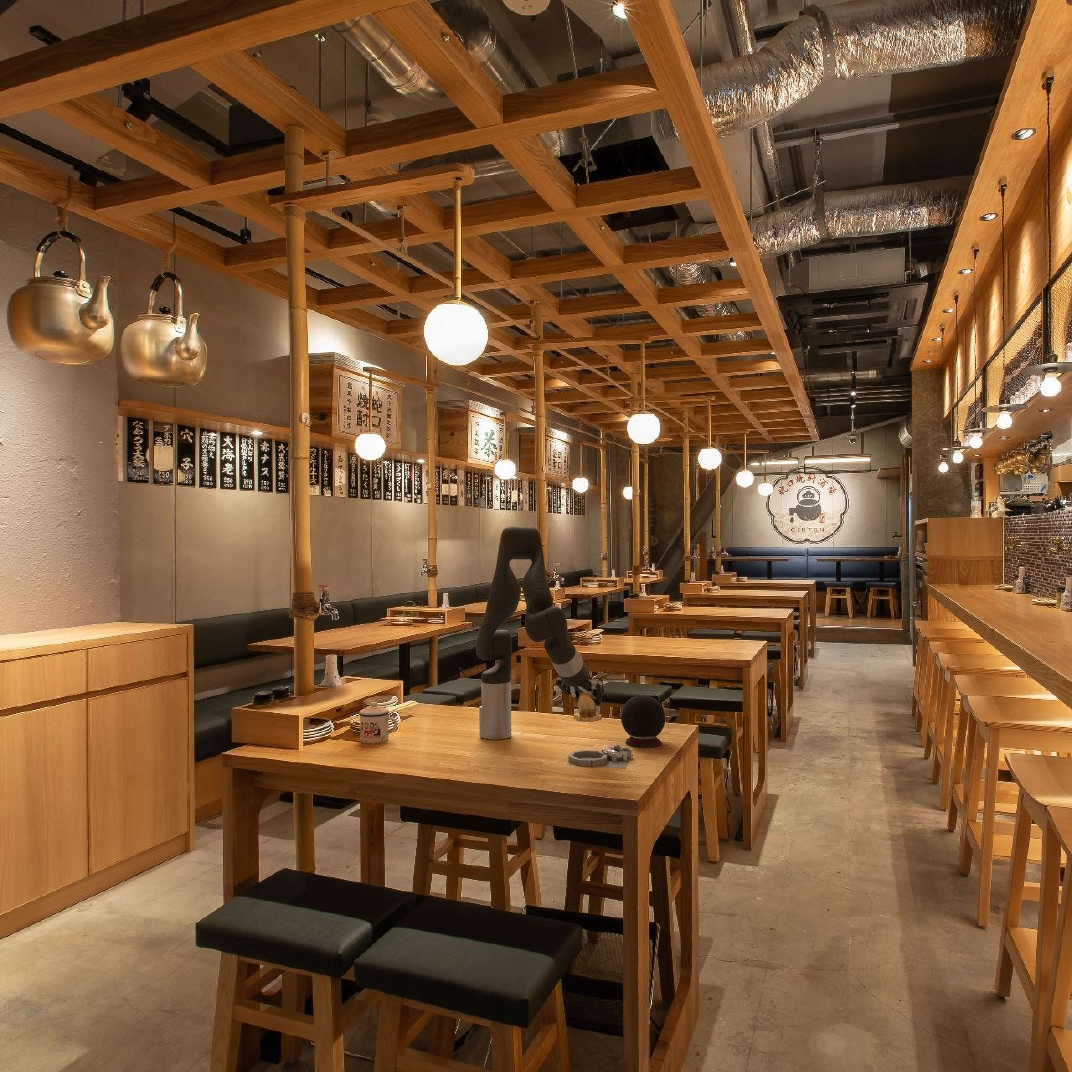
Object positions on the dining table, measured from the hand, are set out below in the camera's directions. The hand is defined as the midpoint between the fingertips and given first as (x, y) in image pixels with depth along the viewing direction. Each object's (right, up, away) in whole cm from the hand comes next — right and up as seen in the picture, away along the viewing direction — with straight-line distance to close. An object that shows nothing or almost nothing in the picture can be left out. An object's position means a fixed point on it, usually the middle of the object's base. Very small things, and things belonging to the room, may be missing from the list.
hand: (590, 702), depth 211 cm
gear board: (+3, -16, -1) cm, 17 cm away
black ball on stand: (+17, -17, +16) cm, 29 cm away
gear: (+7, -15, +1) cm, 17 cm away
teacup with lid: (-64, -18, +26) cm, 71 cm away
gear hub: (-1, -4, -2) cm, 5 cm away
